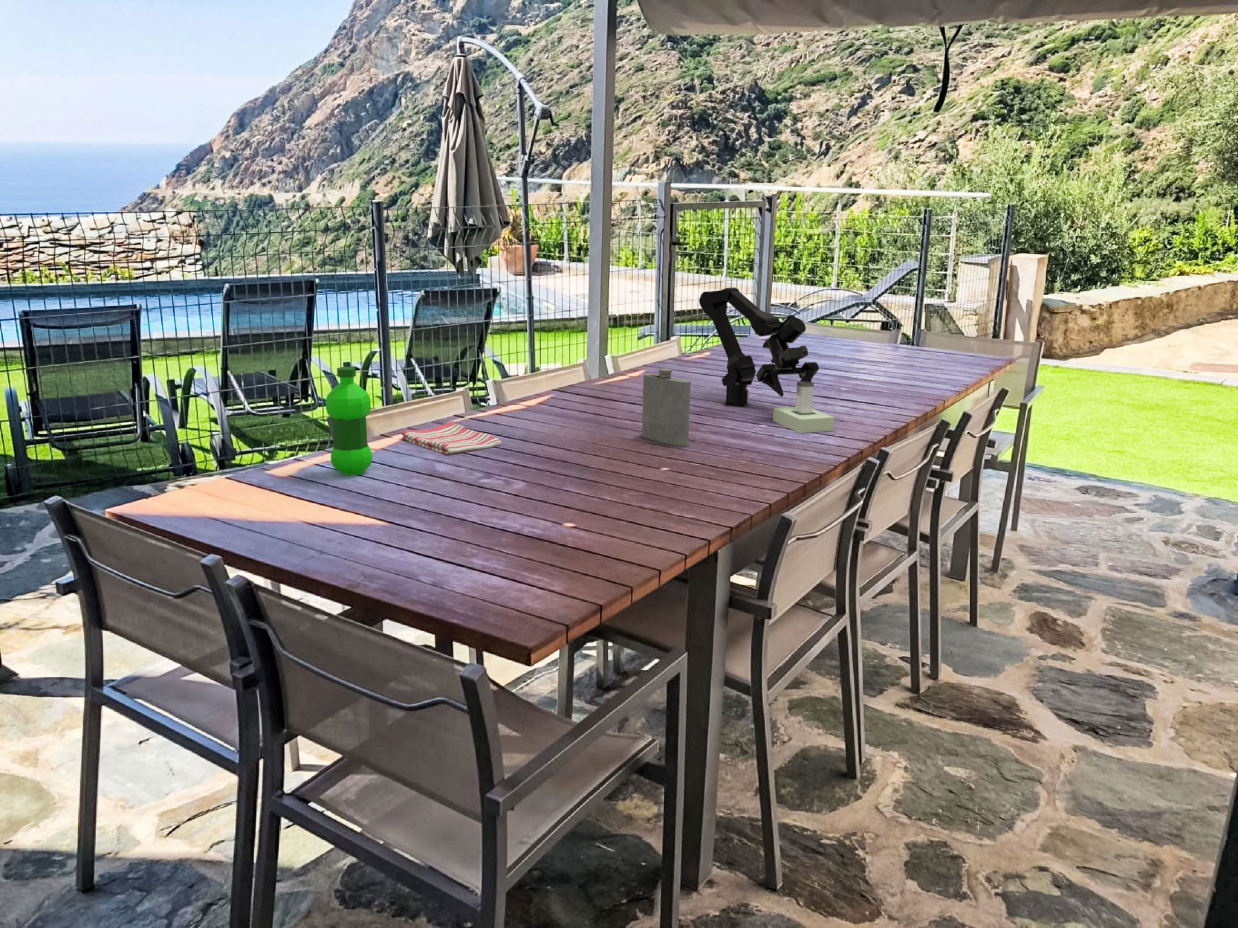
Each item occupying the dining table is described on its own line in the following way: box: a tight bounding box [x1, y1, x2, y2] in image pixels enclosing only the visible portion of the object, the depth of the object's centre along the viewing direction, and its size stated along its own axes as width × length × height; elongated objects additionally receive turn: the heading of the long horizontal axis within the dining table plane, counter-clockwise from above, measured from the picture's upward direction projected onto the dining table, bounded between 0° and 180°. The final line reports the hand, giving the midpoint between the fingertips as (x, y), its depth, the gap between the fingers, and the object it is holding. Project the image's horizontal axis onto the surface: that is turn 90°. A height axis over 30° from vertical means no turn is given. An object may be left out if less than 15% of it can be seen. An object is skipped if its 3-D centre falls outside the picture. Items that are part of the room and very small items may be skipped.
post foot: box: [772, 406, 835, 434], centre depth 281 cm, size 16×11×4 cm
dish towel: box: [401, 420, 502, 456], centre depth 255 cm, size 17×23×4 cm
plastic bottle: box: [325, 366, 373, 476], centre depth 224 cm, size 10×10×25 cm
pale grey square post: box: [794, 380, 815, 415], centre depth 280 cm, size 4×4×13 cm
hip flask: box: [641, 367, 692, 447], centre depth 259 cm, size 16×4×20 cm, turn 46°
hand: (796, 395), depth 283 cm, fingers open, 9 cm apart
